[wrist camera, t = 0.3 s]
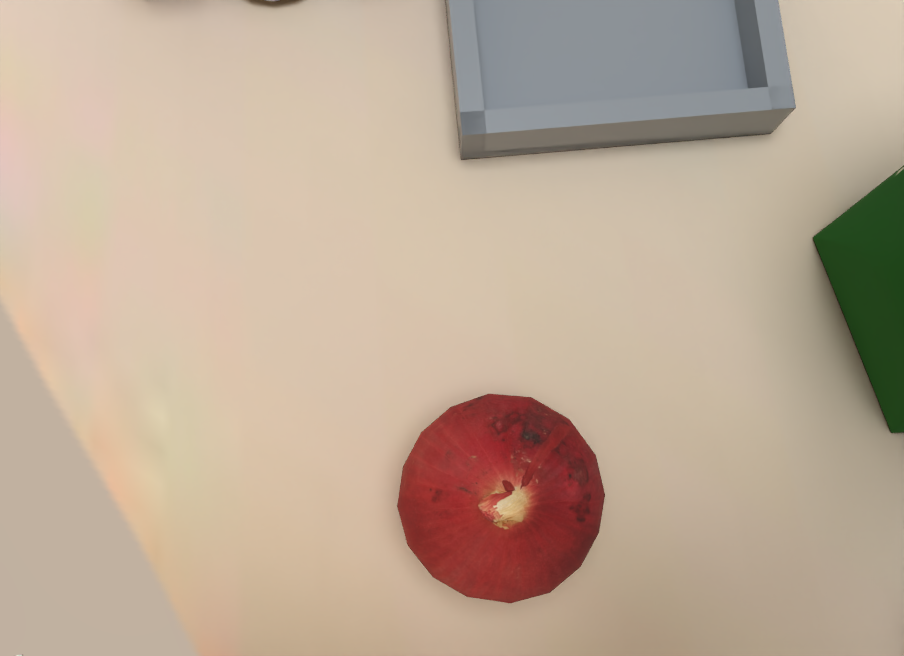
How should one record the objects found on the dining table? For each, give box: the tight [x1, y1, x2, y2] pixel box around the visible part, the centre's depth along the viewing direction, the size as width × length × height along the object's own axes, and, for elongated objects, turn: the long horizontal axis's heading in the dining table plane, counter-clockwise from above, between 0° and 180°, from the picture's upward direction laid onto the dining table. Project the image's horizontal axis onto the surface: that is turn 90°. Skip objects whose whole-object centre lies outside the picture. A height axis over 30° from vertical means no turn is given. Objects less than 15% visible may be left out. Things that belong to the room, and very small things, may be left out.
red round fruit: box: [397, 394, 605, 603], centre depth 24 cm, size 6×6×8 cm
